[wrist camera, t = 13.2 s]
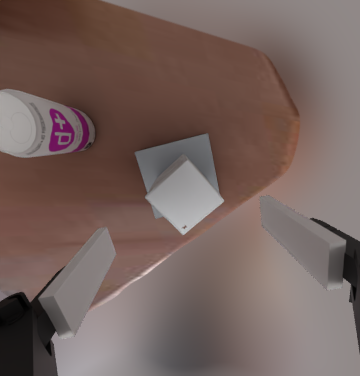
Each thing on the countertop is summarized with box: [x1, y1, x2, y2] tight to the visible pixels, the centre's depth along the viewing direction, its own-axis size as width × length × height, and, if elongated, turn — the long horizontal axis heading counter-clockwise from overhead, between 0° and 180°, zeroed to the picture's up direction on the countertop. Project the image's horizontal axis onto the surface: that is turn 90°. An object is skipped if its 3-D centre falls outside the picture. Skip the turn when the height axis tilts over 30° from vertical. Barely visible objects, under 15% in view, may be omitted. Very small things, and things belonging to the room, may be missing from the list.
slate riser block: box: [135, 133, 220, 219], centre depth 36 cm, size 14×14×5 cm
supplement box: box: [145, 154, 224, 235], centre depth 27 cm, size 7×7×13 cm
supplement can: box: [0, 89, 95, 158], centre depth 27 cm, size 8×8×15 cm
